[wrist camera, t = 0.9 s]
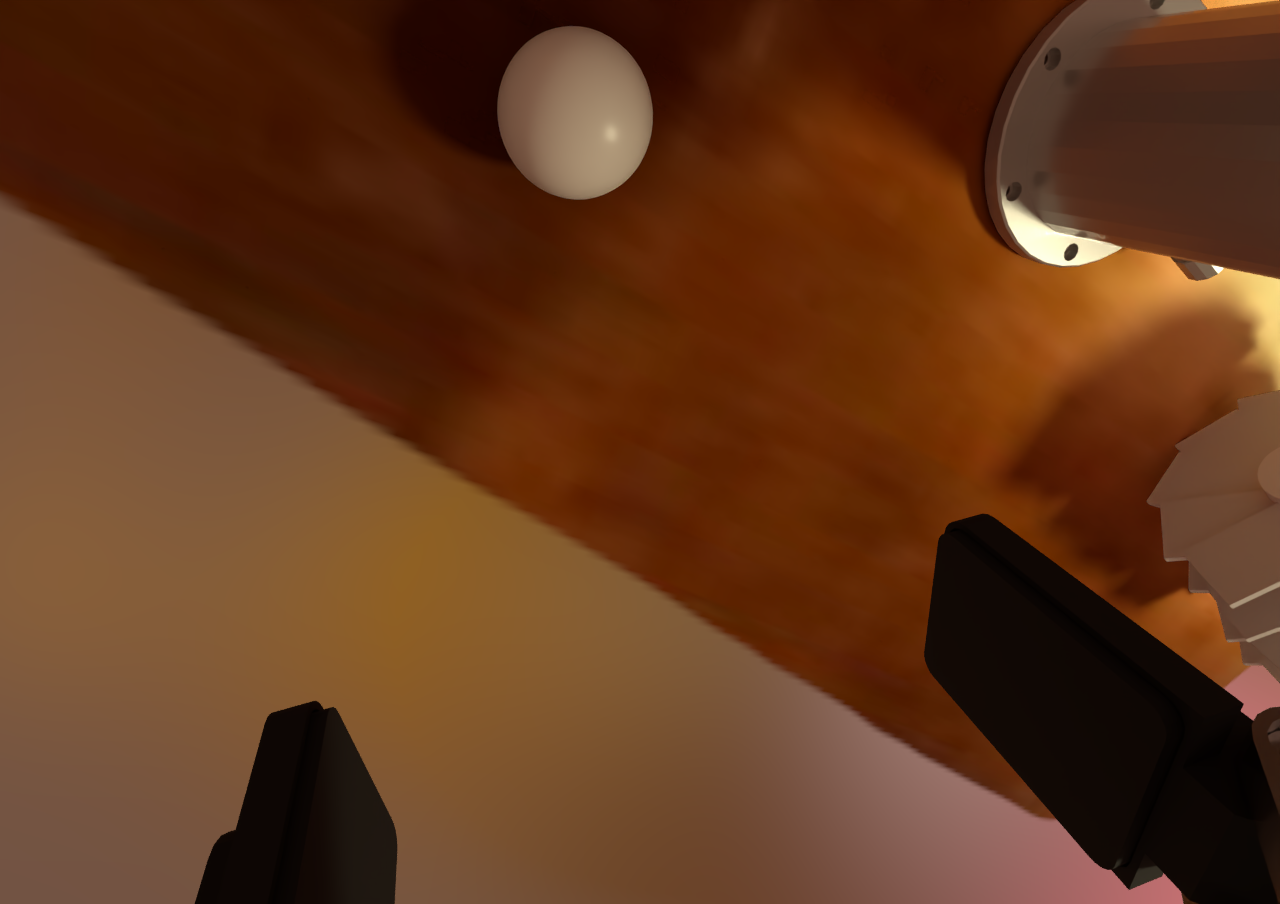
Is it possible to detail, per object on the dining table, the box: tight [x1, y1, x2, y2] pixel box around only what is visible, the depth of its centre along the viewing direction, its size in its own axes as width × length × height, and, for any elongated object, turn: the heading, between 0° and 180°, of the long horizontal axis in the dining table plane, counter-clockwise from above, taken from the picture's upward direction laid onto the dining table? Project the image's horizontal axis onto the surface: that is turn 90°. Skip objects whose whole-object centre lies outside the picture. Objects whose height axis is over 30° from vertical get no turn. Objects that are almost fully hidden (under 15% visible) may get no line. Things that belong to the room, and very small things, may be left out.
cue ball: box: [497, 26, 653, 199], centre depth 24 cm, size 6×6×6 cm
